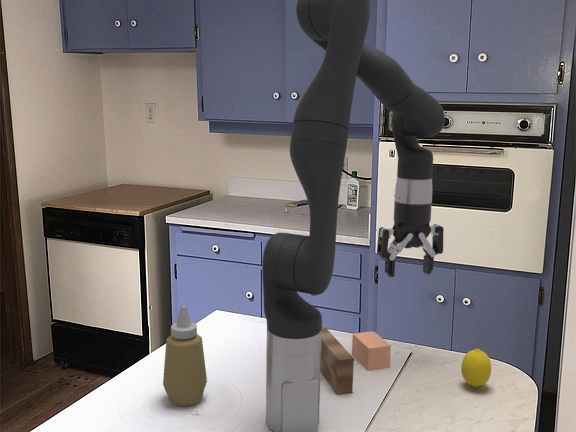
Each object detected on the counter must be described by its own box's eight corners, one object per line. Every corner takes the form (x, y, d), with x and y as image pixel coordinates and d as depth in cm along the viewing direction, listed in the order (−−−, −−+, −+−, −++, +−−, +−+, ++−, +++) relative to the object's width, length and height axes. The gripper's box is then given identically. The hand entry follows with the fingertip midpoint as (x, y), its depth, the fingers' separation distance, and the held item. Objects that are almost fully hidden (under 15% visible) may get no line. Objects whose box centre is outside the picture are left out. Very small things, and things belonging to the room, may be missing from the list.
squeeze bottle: (168, 387, 117) (166, 298, 113) (210, 389, 116) (209, 299, 113) (158, 409, 109) (155, 314, 105) (203, 411, 108) (202, 315, 105)
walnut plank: (352, 392, 116) (353, 358, 114) (337, 394, 115) (338, 360, 114) (324, 357, 131) (325, 326, 129) (310, 358, 130) (311, 328, 129)
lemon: (494, 387, 119) (497, 349, 117) (481, 397, 115) (485, 357, 113) (468, 377, 123) (471, 340, 121) (454, 387, 119) (457, 349, 117)
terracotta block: (389, 368, 127) (390, 345, 126) (367, 371, 125) (368, 348, 124) (372, 352, 134) (373, 331, 133) (351, 355, 133) (352, 333, 132)
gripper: (389, 204, 120) (386, 283, 123) (453, 201, 124) (448, 277, 127) (373, 197, 127) (370, 272, 130) (434, 194, 131) (429, 267, 134)
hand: (408, 274), depth 129 cm, fingers open, 8 cm apart
